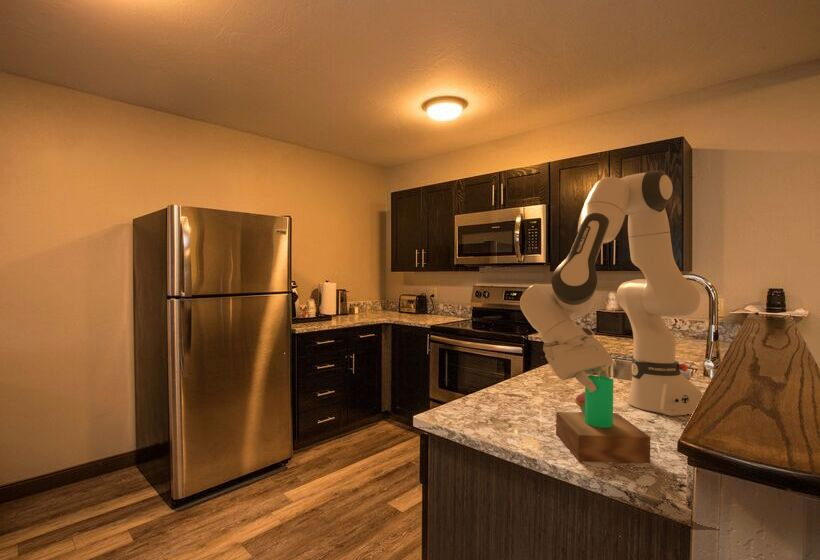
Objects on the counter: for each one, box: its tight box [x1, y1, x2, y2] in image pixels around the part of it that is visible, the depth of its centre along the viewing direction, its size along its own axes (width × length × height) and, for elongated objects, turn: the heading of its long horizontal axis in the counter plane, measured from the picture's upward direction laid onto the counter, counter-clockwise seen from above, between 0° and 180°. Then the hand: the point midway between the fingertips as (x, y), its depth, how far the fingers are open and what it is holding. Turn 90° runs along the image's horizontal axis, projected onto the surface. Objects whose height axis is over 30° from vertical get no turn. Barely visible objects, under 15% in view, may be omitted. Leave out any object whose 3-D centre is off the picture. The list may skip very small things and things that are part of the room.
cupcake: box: [575, 391, 585, 413], centre depth 115 cm, size 9×8×12 cm
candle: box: [584, 371, 614, 428], centre depth 95 cm, size 6×6×12 cm
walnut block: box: [555, 411, 651, 464], centre depth 95 cm, size 15×15×6 cm
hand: (602, 388), depth 94 cm, fingers closed on candle, 5 cm apart
